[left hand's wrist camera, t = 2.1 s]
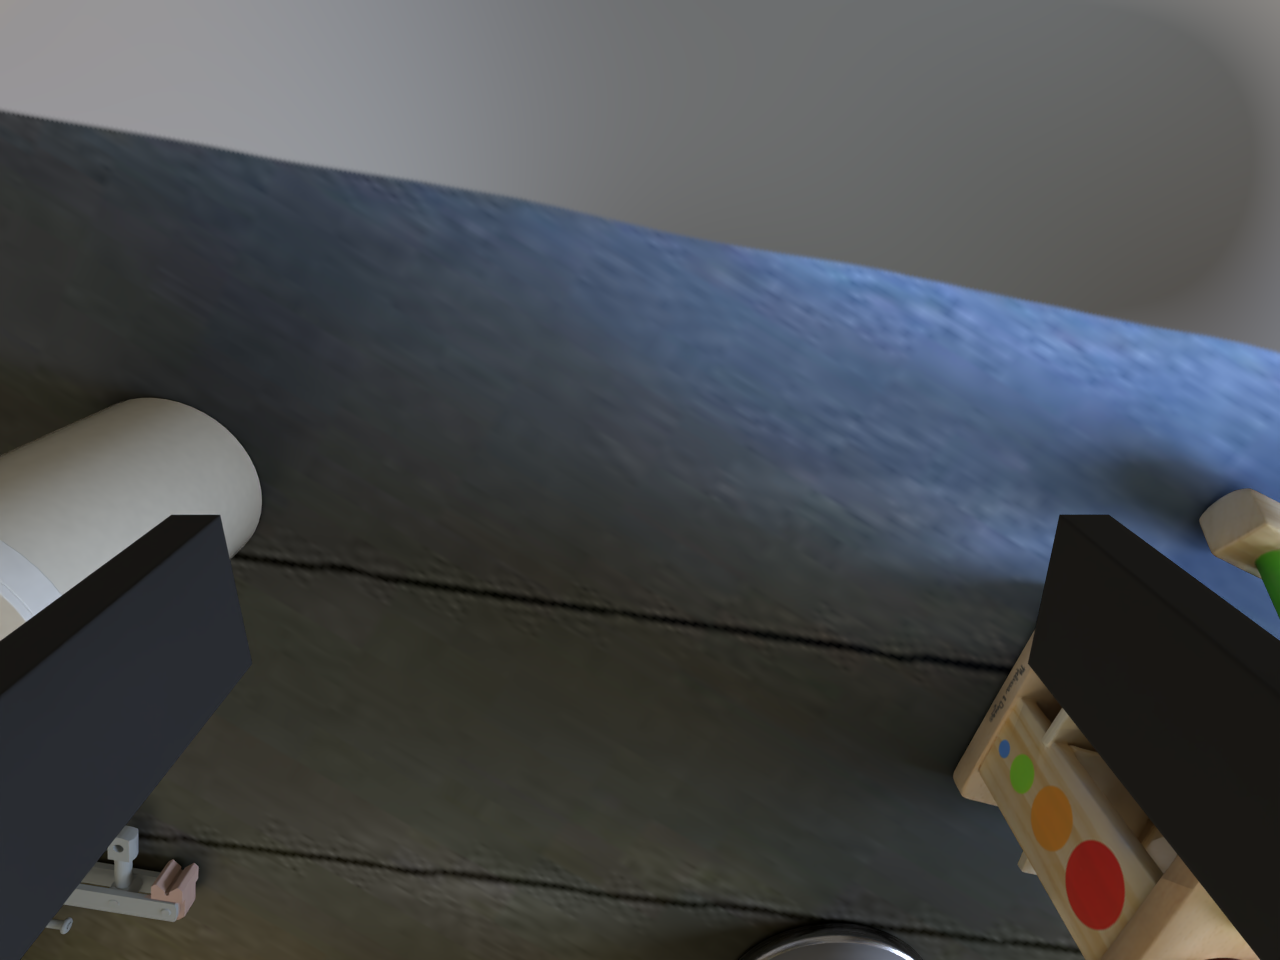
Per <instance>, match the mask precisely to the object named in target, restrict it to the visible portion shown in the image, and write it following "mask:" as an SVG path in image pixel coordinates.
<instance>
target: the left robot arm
mask: <svg viewBox="0 0 1280 960" xmlns="http://www.w3.org/2000/svg"><path fill="white" fill-rule="evenodd" d="M251 665H252V660H251V655H250V651H249V646H248V641H247V637H246V632H245V627H244V623H243V618H242V613H241V609H240V604H239V600H238V595H237V590H236V586H235V581H234V576H233V572H232V567H231V562H230V558H229V553H228V548H227V544H226V539H225V534H224V530H223V525H222V520H221V516H220V515H170V516H169V517H168V518H166V519H165V520H163V521H162V522H161V523H159V524H158V525H157V526H155V527H154V528H153V529H151V530H150V531H149V532H147V533H146V534H144V535H143V536H142V537H140V538H139V539H138V540H136V541H135V542H134V543H132V544H131V545H130V546H128V547H127V548H125V549H124V550H123V551H121V552H120V553H119V554H117V555H116V556H115V557H113V558H112V559H111V560H109V561H108V562H107V563H105V564H104V565H102V566H101V567H100V568H98V569H97V570H96V571H94V572H93V573H92V574H90V575H89V576H88V577H86V578H85V579H83V580H82V581H81V582H79V583H78V584H77V585H75V586H74V587H73V588H71V589H70V590H69V591H67V592H66V593H64V594H63V595H62V596H60V597H59V598H58V599H56V600H55V601H54V602H52V603H51V604H50V605H48V606H47V607H45V608H44V609H43V610H41V611H40V612H39V613H37V614H36V615H35V616H33V617H32V618H31V619H29V620H28V621H26V622H25V623H24V624H22V625H21V626H20V627H18V628H17V629H16V630H14V631H13V632H12V633H10V634H9V635H7V636H6V637H5V638H3V639H2V640H1V641H0V960H20V959H21V958H22V956H23V955H24V954H25V953H26V951H27V950H28V949H29V948H30V946H31V945H32V944H33V942H34V941H35V940H36V939H37V937H38V936H39V935H40V934H41V932H42V931H43V930H44V928H45V927H46V926H47V925H48V923H49V922H50V921H51V920H52V918H53V917H54V916H55V914H56V913H57V912H58V911H59V909H60V908H61V907H62V905H63V904H64V903H65V902H66V900H67V899H68V898H69V897H70V895H71V894H72V893H73V891H74V890H75V889H76V888H77V886H78V885H79V884H80V883H81V881H82V880H83V879H84V877H85V876H86V875H87V874H88V872H89V871H90V870H91V869H92V867H93V866H94V865H95V863H96V862H97V861H98V860H99V858H100V857H101V856H102V854H103V853H104V852H105V851H106V849H107V848H108V847H109V846H110V844H111V843H112V842H113V840H114V839H115V838H116V837H117V835H118V834H119V833H120V832H121V830H122V829H123V828H124V826H125V825H126V824H127V823H128V821H129V820H130V819H131V818H132V816H133V815H134V814H135V812H136V811H137V810H138V809H139V807H140V806H141V805H142V803H143V802H144V801H145V800H146V798H147V797H148V796H149V795H150V793H151V792H152V791H153V789H154V788H155V787H156V786H157V784H158V783H159V782H160V781H161V779H162V778H163V777H164V775H165V774H166V773H167V772H168V770H169V769H170V768H171V767H172V765H173V764H174V763H175V761H176V760H177V759H178V758H179V756H180V755H181V754H182V752H183V751H184V750H185V749H186V747H187V746H188V745H189V744H190V742H191V741H192V740H193V738H194V737H195V736H196V735H197V733H198V732H199V731H200V730H201V728H202V727H203V726H204V724H205V723H206V722H207V721H208V719H209V718H210V717H211V716H212V714H213V713H214V712H215V710H216V709H217V708H218V707H219V705H220V704H221V703H222V702H223V700H224V699H225V698H226V696H227V695H228V694H229V693H230V691H231V690H232V689H233V687H234V686H235V685H236V684H237V682H238V681H239V680H240V679H241V677H242V676H243V675H244V673H245V672H246V671H247V670H248V668H249V667H250V666H251ZM1028 665H1029V666H1030V667H1031V668H1032V670H1033V671H1034V672H1035V673H1036V675H1037V676H1038V677H1039V679H1040V680H1041V681H1042V682H1043V684H1044V685H1045V686H1046V687H1047V689H1048V690H1049V691H1050V693H1051V694H1052V695H1053V696H1054V698H1055V699H1056V700H1057V702H1058V703H1059V704H1060V705H1061V707H1062V708H1063V709H1064V710H1065V712H1066V713H1067V714H1068V716H1069V717H1070V718H1071V719H1072V721H1073V722H1074V723H1075V724H1076V726H1077V727H1078V728H1079V730H1080V731H1081V732H1082V733H1083V735H1084V736H1085V737H1086V738H1087V740H1088V741H1089V742H1090V744H1091V745H1092V746H1093V747H1094V749H1095V750H1096V751H1097V752H1098V754H1099V755H1100V756H1101V758H1102V759H1103V760H1104V761H1105V763H1106V764H1107V765H1108V767H1109V768H1110V769H1111V770H1112V772H1113V773H1114V774H1115V775H1116V777H1117V778H1118V779H1119V781H1120V782H1121V783H1122V784H1123V786H1124V787H1125V788H1126V789H1127V791H1128V792H1129V793H1130V795H1131V796H1132V797H1133V798H1134V800H1135V801H1136V802H1137V803H1138V805H1139V806H1140V807H1141V809H1142V810H1143V811H1144V812H1145V814H1146V815H1147V816H1148V818H1149V819H1150V820H1151V821H1152V823H1153V824H1154V825H1155V826H1156V828H1157V829H1158V830H1159V832H1160V833H1161V834H1162V835H1163V837H1164V838H1165V839H1166V840H1167V842H1168V843H1169V844H1170V846H1171V847H1172V848H1173V849H1174V851H1175V852H1176V853H1177V854H1178V856H1179V857H1180V858H1181V860H1182V861H1183V862H1184V863H1185V865H1186V866H1187V867H1188V869H1189V870H1190V871H1191V872H1192V874H1193V875H1194V876H1195V877H1196V879H1197V880H1198V881H1199V883H1200V884H1201V885H1202V886H1203V888H1204V889H1205V890H1206V891H1207V893H1208V894H1209V895H1210V897H1211V898H1212V899H1213V900H1214V902H1215V903H1216V904H1217V905H1218V907H1219V908H1220V909H1221V911H1222V912H1223V913H1224V914H1225V916H1226V917H1227V918H1228V920H1229V921H1230V922H1231V923H1232V925H1233V926H1234V927H1235V928H1236V930H1237V931H1238V932H1239V934H1240V935H1241V936H1242V937H1243V939H1244V940H1245V941H1246V942H1247V944H1248V945H1249V946H1250V948H1251V949H1252V950H1253V951H1254V953H1255V954H1256V955H1257V956H1258V958H1259V959H1260V960H1280V641H1279V640H1278V639H1277V638H1275V637H1274V636H1273V635H1271V634H1270V633H1268V632H1267V631H1266V630H1264V629H1263V628H1262V627H1260V626H1259V625H1258V624H1256V623H1255V622H1254V621H1252V620H1251V619H1249V618H1248V617H1247V616H1245V615H1244V614H1243V613H1241V612H1240V611H1239V610H1237V609H1236V608H1235V607H1233V606H1232V605H1230V604H1229V603H1228V602H1226V601H1225V600H1224V599H1222V598H1221V597H1220V596H1218V595H1217V594H1216V593H1214V592H1213V591H1211V590H1210V589H1209V588H1207V587H1206V586H1205V585H1203V584H1202V583H1201V582H1199V581H1198V580H1197V579H1195V578H1194V577H1192V576H1191V575H1190V574H1188V573H1187V572H1186V571H1184V570H1183V569H1182V568H1180V567H1179V566H1178V565H1176V564H1175V563H1173V562H1172V561H1171V560H1169V559H1168V558H1167V557H1165V556H1164V555H1163V554H1161V553H1160V552H1159V551H1157V550H1156V549H1155V548H1153V547H1152V546H1150V545H1149V544H1148V543H1146V542H1145V541H1144V540H1142V539H1141V538H1140V537H1138V536H1137V535H1136V534H1134V533H1133V532H1131V531H1130V530H1129V529H1127V528H1126V527H1125V526H1123V525H1122V524H1121V523H1119V522H1118V521H1117V520H1115V519H1114V518H1112V517H1111V516H1110V515H1060V516H1059V520H1058V525H1057V530H1056V534H1055V539H1054V544H1053V548H1052V553H1051V558H1050V562H1049V567H1048V572H1047V576H1046V581H1045V586H1044V590H1043V595H1042V600H1041V604H1040V609H1039V613H1038V618H1037V623H1036V627H1035V632H1034V637H1033V641H1032V646H1031V651H1030V655H1029V660H1028ZM739 960H923V959H922V958H921V957H920V956H919V955H918V953H917V952H916V951H915V950H914V949H912V948H911V947H910V946H909V945H908V944H906V943H905V942H903V941H902V940H900V939H898V938H897V937H895V936H893V935H891V934H888V933H886V932H883V931H881V930H878V929H874V928H871V927H867V926H861V925H855V924H845V923H826V924H815V925H809V926H803V927H799V928H795V929H791V930H788V931H785V932H782V933H780V934H777V935H775V936H772V937H770V938H769V939H767V940H765V941H763V942H761V943H759V944H758V945H756V946H755V947H753V948H752V949H751V950H749V951H748V952H747V953H745V954H744V955H743V956H742V957H741V958H740V959H739Z"/></svg>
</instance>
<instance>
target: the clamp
mask: <svg viewBox="0 0 1280 960" xmlns="http://www.w3.org/2000/svg"><path fill="white" fill-rule="evenodd" d="M137 855H138V829H137V828H135V827H131V826H126V825H125V826H124V828H123V829H122V830H121V832H120V833H119V834H118V835H117V837H116V838H115V839H114V840H113V842H112V843H111V844H110V846H109V847H108V859H110V860H114V865H113V864H106V863H100V862H96V863H95V865H94V866H93V867H92V869H91V870H90V871H89V872H88V874H87V875H86V876H85V877H84V879H83V880H82V881H81V882H84V883H90V884H96V885H102V886H108V887H110V888H104V887H97V886H91V885H85V884H79V885H78V886H77V888H76V889H75V890H74V891H73V893H72V894H71V895H70V897H69V898H68V899H67V900H66V902H65V903H64V905H71V906H77V907H83V908H89V909H96V910H102V911H108V912H114V913H121V914H127V915H133V916H139V917H146V918H152V919H158V920H165V921H171V922H175V920H176V919H177V920H179V919H181V918H183V917H184V916H185V915H186V913H187V912H188V910H189V908H190V907H191V905H192V904H193V902H194V900H195V888H196V881H197V879H198V870H199V867H198V866H197V865H196V864H195V863H192V864H191V865H189V866H187V867H185V868H184V870H182V869H181V866H180V865H179V864H178V863H177V862H176V861H174V860H173V859H172V860H170V861H168V863H167V864H166V866H165V867H164V869H163V870H162V871H161V872H155V871H149V870H143V869H137V868H133V863H132V860H134V859H135V858H136V857H137ZM138 891H139V892H145V893H151V895H147V894H141V893H138ZM72 922H73V920H72V918H70V917H69V918H67V919H65V920H64V921H63V920H56V919H52V920H51V921H50V922H49V923H48V925H47V926H46V927H45V928H53V929H60V933H61V934H65V933H67V932H68V931H69V929H70V928H71V926H72Z"/></svg>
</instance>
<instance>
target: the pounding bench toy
mask: <svg viewBox="0 0 1280 960" xmlns="http://www.w3.org/2000/svg"><path fill="white" fill-rule="evenodd" d="M1199 522H1200V525H1201V528H1202V530H1203V533H1204V536H1205V538H1206V541H1207V543H1208V546H1209V548H1210V550H1211V553H1212V554H1213V555H1214V556H1216V557H1218V558H1220V559H1222V560H1224V561H1226V562H1228V563H1230V564H1232V565H1234V566H1236V567H1238V568H1240V569H1242V570H1244V571H1246V572H1248V573H1250V574H1252V575H1254V576H1256V577H1258V578H1260V579H1262V580H1263V582H1264V585H1265V587H1266V589H1267V591H1268V594H1269V596H1270V598H1271V600H1272V602H1273V605H1274V607H1275V609H1276V612H1277V614H1278V616H1279V618H1280V503H1278V502H1277V501H1275V500H1273V499H1271V498H1269V497H1267V496H1265V495H1263V494H1261V493H1259V492H1257V491H1255V490H1252V489H1240V490H1236V491H1233V492H1231V493H1229V494H1227V495H1225V496H1223V497H1222V498H1220V499H1219V500H1217V501H1216V502H1215V503H1213V504H1212V505H1211V506H1210V507H1208V509H1207V510H1206V511H1205V512H1204V513H1203V514H1202V516H1201V517H1200V519H1199ZM1034 632H1035V630H1034ZM1034 632H1033V634H1032V635H1031V637H1030V639H1029V641H1028V642H1027V644H1026V646H1025V647H1024V649H1023V651H1022V653H1021V654H1020V656H1019V658H1018V660H1017V661H1016V663H1015V665H1014V667H1013V668H1012V670H1011V672H1010V674H1009V675H1008V677H1007V679H1006V681H1005V682H1004V684H1003V686H1002V687H1001V689H1000V691H999V693H998V694H997V696H996V698H995V700H994V701H993V703H992V705H991V707H990V709H989V710H988V712H987V714H986V716H985V717H984V719H983V721H982V723H981V725H980V726H979V728H978V730H977V732H976V733H975V735H974V737H973V739H972V740H971V742H970V744H969V746H968V748H967V749H966V751H965V753H964V755H963V756H962V758H961V760H960V762H959V763H958V765H957V767H956V769H955V771H954V774H953V779H954V781H955V784H956V786H957V788H958V789H959V791H960V793H961V795H962V796H963V797H965V798H967V799H970V800H974V801H979V802H983V803H987V804H991V805H995V806H998V807H999V809H1000V811H1001V812H1002V814H1003V816H1004V818H1005V819H1006V821H1007V823H1008V825H1009V827H1010V828H1011V830H1012V832H1013V834H1014V835H1015V837H1016V839H1017V841H1018V842H1019V844H1020V846H1021V848H1022V849H1023V853H1022V855H1021V857H1020V860H1019V862H1018V866H1019V868H1020V869H1021V870H1022V872H1026V873H1030V874H1034V875H1037V876H1038V877H1039V879H1040V881H1041V883H1042V884H1043V886H1044V888H1045V890H1046V892H1047V893H1048V895H1049V897H1050V898H1051V900H1052V902H1053V904H1054V905H1055V907H1056V909H1057V911H1058V912H1059V914H1060V916H1061V918H1062V919H1063V921H1064V923H1065V925H1066V926H1067V928H1068V930H1069V932H1070V933H1071V935H1072V937H1073V939H1074V940H1075V942H1076V944H1077V946H1078V947H1079V949H1080V951H1081V953H1082V954H1083V956H1084V958H1085V960H1260V959H1259V958H1258V956H1257V955H1256V954H1255V953H1254V951H1253V950H1252V949H1251V948H1250V946H1249V945H1248V944H1247V942H1246V941H1245V940H1244V939H1243V937H1242V936H1241V935H1240V934H1239V932H1238V931H1237V930H1236V928H1235V927H1234V926H1233V925H1232V923H1231V922H1230V921H1229V920H1228V918H1227V917H1226V916H1225V914H1224V913H1223V912H1222V911H1221V909H1220V908H1219V907H1218V905H1217V904H1216V903H1215V902H1214V900H1213V899H1212V898H1211V897H1210V895H1209V894H1208V893H1207V891H1206V890H1205V889H1204V888H1203V886H1202V885H1201V884H1200V883H1199V881H1198V880H1197V879H1196V877H1195V876H1194V875H1193V874H1192V872H1191V871H1190V870H1189V869H1188V867H1187V866H1186V865H1185V863H1184V862H1183V861H1182V860H1181V858H1180V857H1179V856H1178V854H1177V853H1176V852H1175V851H1174V849H1173V848H1172V847H1171V846H1170V844H1169V843H1168V842H1167V840H1166V839H1165V838H1164V837H1163V835H1162V834H1161V833H1160V832H1159V830H1158V829H1157V828H1156V826H1155V825H1154V824H1153V823H1152V821H1151V820H1150V819H1149V818H1148V816H1147V815H1146V814H1145V812H1144V811H1143V810H1142V809H1141V807H1140V806H1139V805H1138V803H1137V802H1136V801H1135V800H1134V798H1133V797H1132V796H1131V795H1130V793H1129V792H1128V791H1127V789H1126V788H1125V787H1124V786H1123V784H1122V783H1121V782H1120V781H1119V779H1118V778H1117V777H1116V775H1115V774H1114V773H1113V772H1112V770H1111V769H1110V768H1109V767H1108V765H1107V764H1106V763H1105V761H1104V760H1103V759H1102V758H1101V756H1100V755H1099V754H1098V752H1097V751H1096V750H1095V749H1094V747H1093V746H1092V745H1091V744H1090V742H1089V741H1088V740H1087V738H1086V737H1085V736H1084V735H1083V733H1082V732H1081V731H1080V730H1079V728H1078V727H1077V726H1076V724H1075V723H1074V722H1073V721H1072V719H1071V718H1070V717H1069V716H1068V714H1067V713H1066V712H1065V710H1064V709H1063V708H1062V707H1061V705H1060V704H1059V703H1058V702H1057V700H1056V699H1055V698H1054V696H1053V695H1052V694H1051V693H1050V691H1049V690H1048V689H1047V687H1046V686H1045V685H1044V684H1043V682H1042V681H1041V680H1040V679H1039V677H1038V676H1037V675H1036V673H1035V672H1034V671H1033V670H1032V668H1031V667H1030V666H1029V665H1028V660H1029V655H1030V651H1031V646H1032V641H1033V637H1034Z"/></svg>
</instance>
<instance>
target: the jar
mask: <svg viewBox="0 0 1280 960" xmlns="http://www.w3.org/2000/svg"><path fill="white" fill-rule="evenodd" d="M261 507H262V493H261V486H260V482H259V478H258V475H257V472H256V469H255V467H254V465H253V463H252V461H251V459H250V457H249V455H248V454H247V452H246V451H245V449H244V448H243V446H242V445H241V444H240V443H239V441H238V440H237V439H236V438H235V437H234V436H233V435H232V434H231V433H230V432H229V431H228V430H227V429H226V428H225V427H224V426H222V425H221V424H220V423H219V422H217V421H216V420H215V419H213V418H212V417H210V416H208V415H207V414H205V413H203V412H201V411H199V410H197V409H195V408H193V407H191V406H188V405H185V404H182V403H180V402H175V401H171V400H167V399H159V398H137V399H130V400H126V401H123V402H119V403H116V404H114V405H112V406H110V407H107V408H105V409H103V410H101V411H98V412H96V413H94V414H92V415H90V416H87V417H85V418H83V419H81V420H78V421H76V422H74V423H72V424H69V425H67V426H65V427H63V428H60V429H58V430H56V431H54V432H52V433H49V434H47V435H45V436H43V437H40V438H38V439H36V440H34V441H31V442H29V443H27V444H25V445H22V446H20V447H18V448H16V449H14V450H11V451H9V452H7V453H5V454H2V455H0V540H1V541H3V542H4V543H6V544H7V545H9V546H10V547H12V548H13V549H15V550H16V551H17V552H19V553H20V554H22V555H23V556H24V557H25V558H26V559H28V560H29V561H30V562H31V563H32V564H34V565H35V566H36V567H37V568H38V569H39V570H40V571H41V572H42V573H43V574H44V575H45V576H46V577H47V578H48V579H49V580H50V581H51V582H52V583H53V585H54V586H55V587H56V588H57V590H58V591H59V592H60V593H61V595H63V594H64V593H66V592H67V591H69V590H70V589H71V588H73V587H74V586H75V585H77V584H78V583H79V582H81V581H82V580H83V579H85V578H86V577H88V576H89V575H90V574H92V573H93V572H94V571H96V570H97V569H98V568H100V567H101V566H102V565H104V564H105V563H107V562H108V561H109V560H111V559H112V558H113V557H115V556H116V555H117V554H119V553H120V552H121V551H123V550H124V549H125V548H127V547H128V546H130V545H131V544H132V543H134V542H135V541H136V540H138V539H139V538H140V537H142V536H143V535H144V534H146V533H147V532H149V531H150V530H151V529H153V528H154V527H155V526H157V525H158V524H159V523H161V522H162V521H163V520H165V519H166V518H168V517H169V516H170V515H220V516H221V520H222V525H223V530H224V534H225V539H226V544H227V548H228V553H229V558H230V559H231V558H232V557H233V556H234V555H235V554H236V553H238V552H239V551H240V550H241V549H242V548H243V547H244V546H245V544H246V543H247V542H248V541H249V540H250V538H251V537H252V535H253V533H254V532H255V530H256V527H257V525H258V523H259V519H260V515H261Z"/></svg>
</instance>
